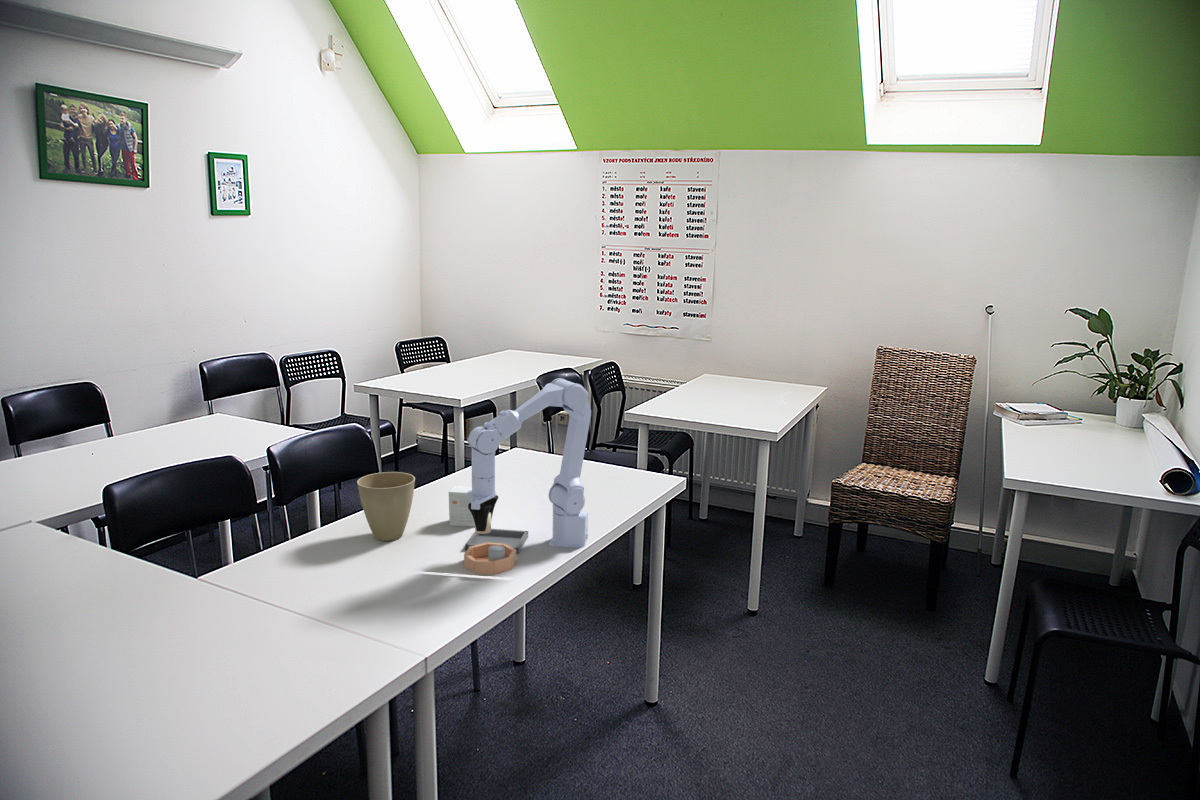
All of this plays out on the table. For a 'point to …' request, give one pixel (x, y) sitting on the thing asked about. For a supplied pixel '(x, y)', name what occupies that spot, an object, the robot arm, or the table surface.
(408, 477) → the plant pot
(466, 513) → the small box
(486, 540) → the tray
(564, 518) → the robot arm
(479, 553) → the bowl
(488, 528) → the pebble sand
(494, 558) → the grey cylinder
